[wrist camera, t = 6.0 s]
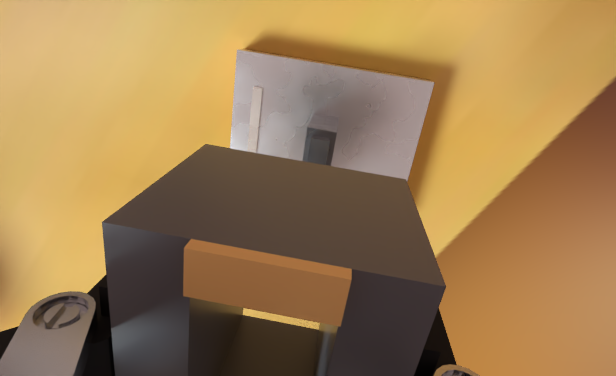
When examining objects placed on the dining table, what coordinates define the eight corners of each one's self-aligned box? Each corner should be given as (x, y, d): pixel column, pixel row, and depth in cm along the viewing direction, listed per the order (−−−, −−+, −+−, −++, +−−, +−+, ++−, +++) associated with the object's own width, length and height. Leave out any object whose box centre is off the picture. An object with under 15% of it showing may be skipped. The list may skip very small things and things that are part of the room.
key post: (391, 219, 27) (403, 266, 22) (232, 190, 28) (203, 229, 22) (429, 79, 23) (454, 93, 18) (243, 48, 24) (211, 52, 18)
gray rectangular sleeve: (357, 359, 14) (360, 539, 9) (198, 327, 14) (116, 485, 9) (405, 179, 11) (450, 298, 6) (205, 144, 11) (91, 230, 6)
